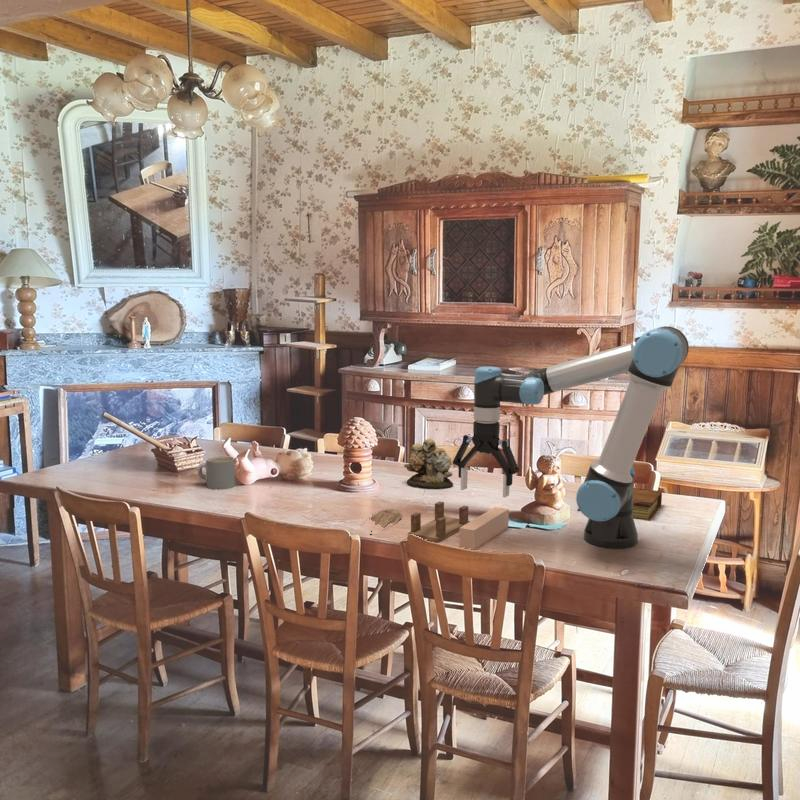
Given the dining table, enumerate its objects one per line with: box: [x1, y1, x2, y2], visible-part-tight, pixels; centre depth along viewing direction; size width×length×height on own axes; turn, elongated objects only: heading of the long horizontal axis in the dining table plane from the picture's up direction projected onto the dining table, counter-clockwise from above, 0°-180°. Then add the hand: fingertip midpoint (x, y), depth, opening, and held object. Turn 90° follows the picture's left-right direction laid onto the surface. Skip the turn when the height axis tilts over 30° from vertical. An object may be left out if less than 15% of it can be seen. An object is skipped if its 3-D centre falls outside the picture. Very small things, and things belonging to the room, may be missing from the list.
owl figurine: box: [403, 438, 454, 490], centre depth 302 cm, size 18×12×17 cm, turn 76°
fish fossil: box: [368, 508, 403, 529], centre depth 259 cm, size 26×10×1 cm, turn 168°
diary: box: [577, 487, 663, 522], centre depth 274 cm, size 23×19×6 cm
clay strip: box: [459, 506, 510, 550], centre depth 245 cm, size 4×24×6 cm, turn 149°
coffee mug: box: [197, 455, 236, 490], centre depth 302 cm, size 13×10×10 cm
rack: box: [407, 501, 471, 543], centre depth 251 cm, size 10×20×6 cm, turn 147°
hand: (484, 492), depth 243 cm, fingers open, 13 cm apart
